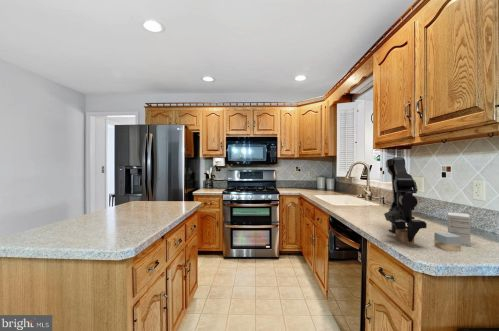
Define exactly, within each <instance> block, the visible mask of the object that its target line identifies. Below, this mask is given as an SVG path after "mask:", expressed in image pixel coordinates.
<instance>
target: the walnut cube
mask: <svg viewBox="0 0 499 331" xmlns="http://www.w3.org/2000/svg"><path fill="white" fill-rule="evenodd" d="M395 241H396V242H399V243H401V244H403V245H404V244H415V237H414V238H413V240H412V242H409V240H408V231H407V229H396V233H395Z"/></svg>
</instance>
